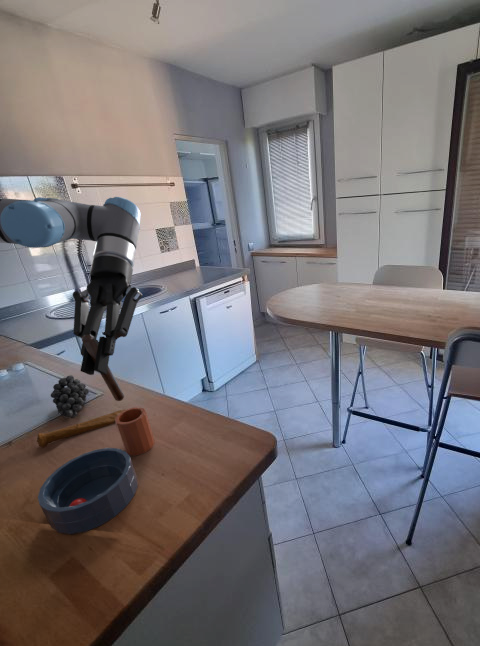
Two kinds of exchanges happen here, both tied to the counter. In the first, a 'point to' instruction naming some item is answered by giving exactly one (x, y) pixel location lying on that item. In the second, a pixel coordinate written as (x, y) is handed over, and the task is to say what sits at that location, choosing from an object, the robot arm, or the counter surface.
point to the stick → (108, 377)
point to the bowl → (88, 490)
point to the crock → (135, 431)
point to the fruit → (69, 396)
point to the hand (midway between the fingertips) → (93, 372)
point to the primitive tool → (76, 429)
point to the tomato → (78, 502)
